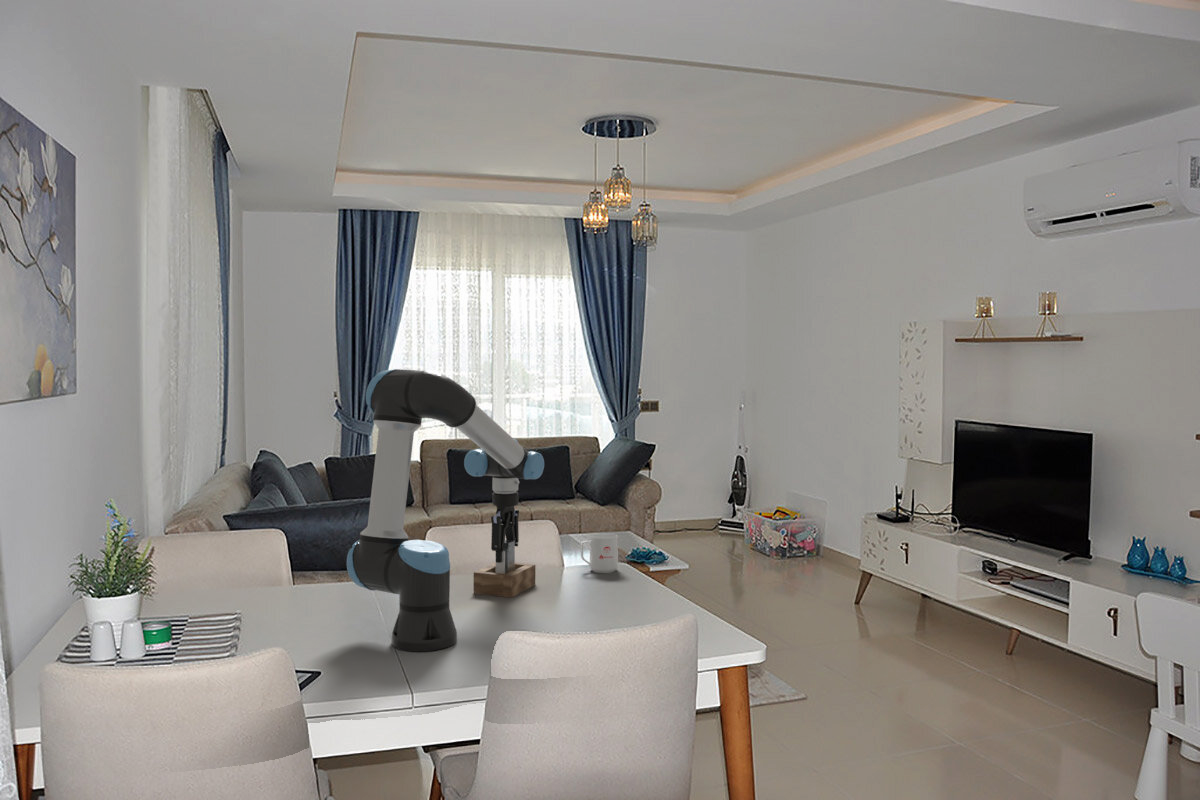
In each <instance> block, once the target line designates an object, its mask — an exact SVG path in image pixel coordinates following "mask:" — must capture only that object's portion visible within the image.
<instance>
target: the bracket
mask: <svg viewBox="0 0 1200 800" xmlns="http://www.w3.org/2000/svg"><path fill="white" fill-rule="evenodd" d="M515 547H516V546H515V541H512V540H506V539H505V543H504V550H503V551H505V574H508V573H510V572H512V571H514V564H515V563H516V561H515V559H516V557H515V556H516V555H515V554H516V552H515Z"/></svg>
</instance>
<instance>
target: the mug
mask: <svg viewBox="0 0 1200 800" xmlns="http://www.w3.org/2000/svg"><path fill="white" fill-rule="evenodd" d="M618 541H619V536H618V535H617V534H616V533H611V532H598V533H597V532H596V533H592V534H590V536H589V540H588V539H587V540H583V541H580V557H581V560H582V561H584V562H585V563H586V564H587V565H588V566H589V568H590V569H591V571H592V572H593V573H599V574H611V573H614V572H615V571H616V570H617V569H618V564H619V563H618V561H619V554H618V553H619V552H618V551H619V549H618V548H619V542H618ZM585 543H589V561H588V560H586V559H585V558H584V544H585Z"/></svg>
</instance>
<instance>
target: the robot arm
mask: <svg viewBox="0 0 1200 800" xmlns="http://www.w3.org/2000/svg"><path fill="white" fill-rule="evenodd" d="M365 403H366V405H367V406H368V407H367V408H368V410H369V411H370V412H371V413H372V414H373V421H372V422H373V423H374V424H375V426H376V427H377V429H378V433H377V441H376V448H375V449H376V450H375V457H374V467H373V476H372V485H371V493H370V501H369V510H368V520H367V526H366V527H365V528H364V529H363V530H362V531H360V532H359V539H358V540H357V541H355V542H354V543H353V544H352V546H351V547H352V548H349V550H348V553H347V557H346V570H347V573H348V576H349V578H350V579H351V580H352V582H353V583H354V584H355V585H356V586H358V587H360V588H365V589H366V590H369V591H378V592H383V593H387V594H388V593H390V594H394V595H399V610H398V614H397V617H396V620H395V623H394V627H393V630H392V633H391V645H392V646H393V647H394V648H395V649H399V650H402V651H406V652H408V651H409V652H433V651H437V650H438V651H439V650H443V649H446V648H450V647H451V646H454V645H455V644H456V643H457V641H458V639H457V637H458V636H457V635H458V633H457V628H456V624H455V622H454V619H453V616H452V613H451V609H450V588H451V587H450V583H451V582H450V581H451V579H450V577H451V572H450V571H451V562H450V553H449V550H448V548H447V547H446V546H445V545H444V544H442V543H440V542H437V541H433V540H422V539H409V535H408V534H407V533H406V531H405V530H404V526H405V516H406V507H407V498H408V491H409V490H408V489H409V481H410V470H411V464H412V463H411V462H412V453H413V443H414V435H415V434H414V433H415V432H416V431H418V429H420V428H421V427H422V420H423V419H432V420H437V421H440V422H442V423H444V425H446V426H447V427H450V428H453V429H454V428H456V429H457V430H458V431H460V432H461V433H462V434H463V435H464V436H466V437H467V438H468V439H469V440H471V442H473V443H474V444H475V445H476V446H478V448H476V449H471V450H469V451H468V452H467V453H466V454H465V457H464V461H463V465H464V469H465V471H466V472H467V474H469V475H470V476H472V477H483V476H489V477H492V485H491V486H492V491H493V493H492V500H491V501H492V503H491V504H492V505H493V506H494V507H496V512H495V515H491V516H490V519H491V545H490V546H491V547H490V548H491V551H493V552H495V563H496V567H495V573H502V574H505V551H503V550H504V543H505V540H512V541H515V547H519V536H520V535H519V514H520V510H519V509H515V507H516V506H518V505H519V492H518V491H519V485H520V480H519V479H521V480H522V479H523V480H537V479H539V478H540V477H541V476H542V475H543V472H544V468H545V460H544V457H543V455H542V453H539V452H537V451H533V450H530V451H529V450H527V449H525V447H523V446H522V445H521V444H520V443H519V441H518V440H517V439H516V438H513V436H511V435H510V434H509V433H508V432H507V431H506V430H505V429H504V428H502V427H501V426H500V425H499V424H498V423H497V422H496V421H495V420H493V419H492V417H490V416H489V415H488V414H487V413H486V412H485V411H484V410H483V409H481V408H480V407H479V406H478V405H477V401H476V398H475V397H474V396H473V395H472V394H471V393H470V392H469V391H468V390H467V389H465V388H464V387H463V386H462V385H460V384H459V383H458V382H456V381H455V380H453V379H451V378H450V377H448V376H446V375H444V374H443V373H440V372H437V371H434V370H429V369H428V370H427V369H424V370H423V369H422V370H421V369H420V370H419V369H400V368H394V369H387V370H382V371H380V372H378V373H377V374H376V375H375V376H373V378H372V379H371V380H370V381H369V384H368V385H367V388H366V392H365ZM514 569H515V564H514Z"/></svg>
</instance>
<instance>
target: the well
mask: <svg viewBox="0 0 1200 800" xmlns="http://www.w3.org/2000/svg"><path fill="white" fill-rule="evenodd" d="M495 567H496V562H494V563H491V564H489V565H487V566H485V567H482V568H481V569H477V570H476V571H474V572H473V594H478V595H484V596H485V595H486V596H495V597H503V598H514V597H515V596H517V595H519V594H520V593H522V592H524V591H526V590H528V589H529V588H532V587H533V586H535V585H536V564H534V563H533V564H532V563H525V562H524V563H523V562H515V569H514V571H512V572H510V573H508V574H502V573H495Z"/></svg>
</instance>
